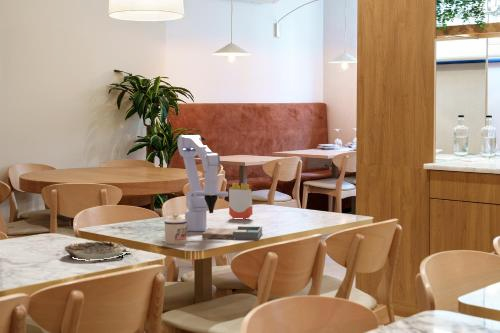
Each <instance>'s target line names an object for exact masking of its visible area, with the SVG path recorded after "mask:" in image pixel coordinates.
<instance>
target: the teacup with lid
mask: <svg viewBox="0 0 500 333" xmlns="http://www.w3.org/2000/svg"><path fill="white" fill-rule="evenodd" d="M163 223H164V243H165V244H166V245H185V244H186V243H187V233H188V232H189V231H188V225H187V224H186V223H187V221H186V220H185V218H183V217H181V216H179V214H177V213H174V214H173V215H172V216H171V217H169V218H168V219H165V220H164V222H163Z"/></svg>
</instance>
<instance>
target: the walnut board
mask: <svg viewBox="0 0 500 333" xmlns="http://www.w3.org/2000/svg"><path fill="white" fill-rule="evenodd" d="M208 228H209V229H207V230H206V231H203V232H202V233H201V239H202V238H228V239H227V240H234V239H233V232H235V231H236V230H238V228H227V227H226V228H223V227H222V228H219V227H218V228H215V227H213V228H212V227H208ZM229 238H231V239H229Z"/></svg>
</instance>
